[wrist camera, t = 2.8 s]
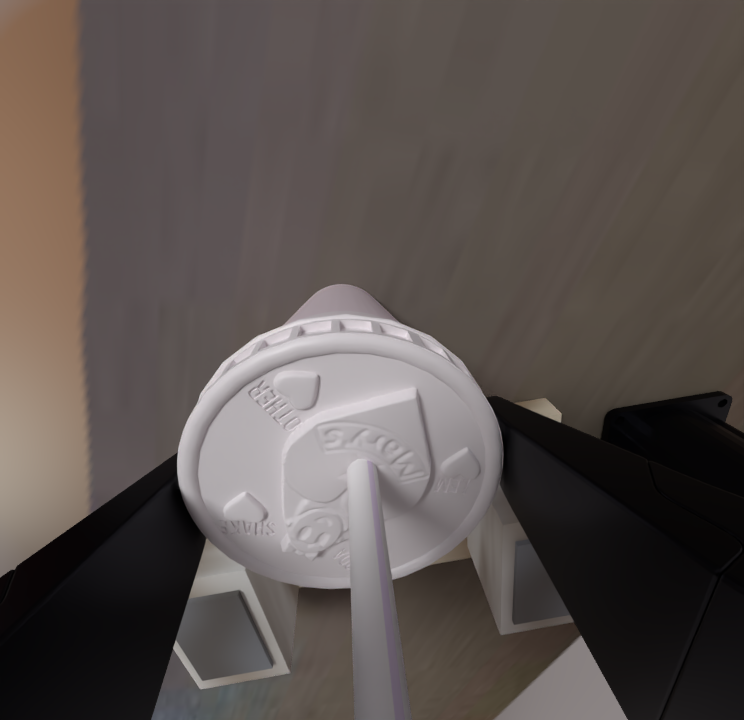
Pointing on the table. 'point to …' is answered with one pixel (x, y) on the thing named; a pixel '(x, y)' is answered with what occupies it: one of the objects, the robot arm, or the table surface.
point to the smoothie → (343, 466)
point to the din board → (279, 600)
